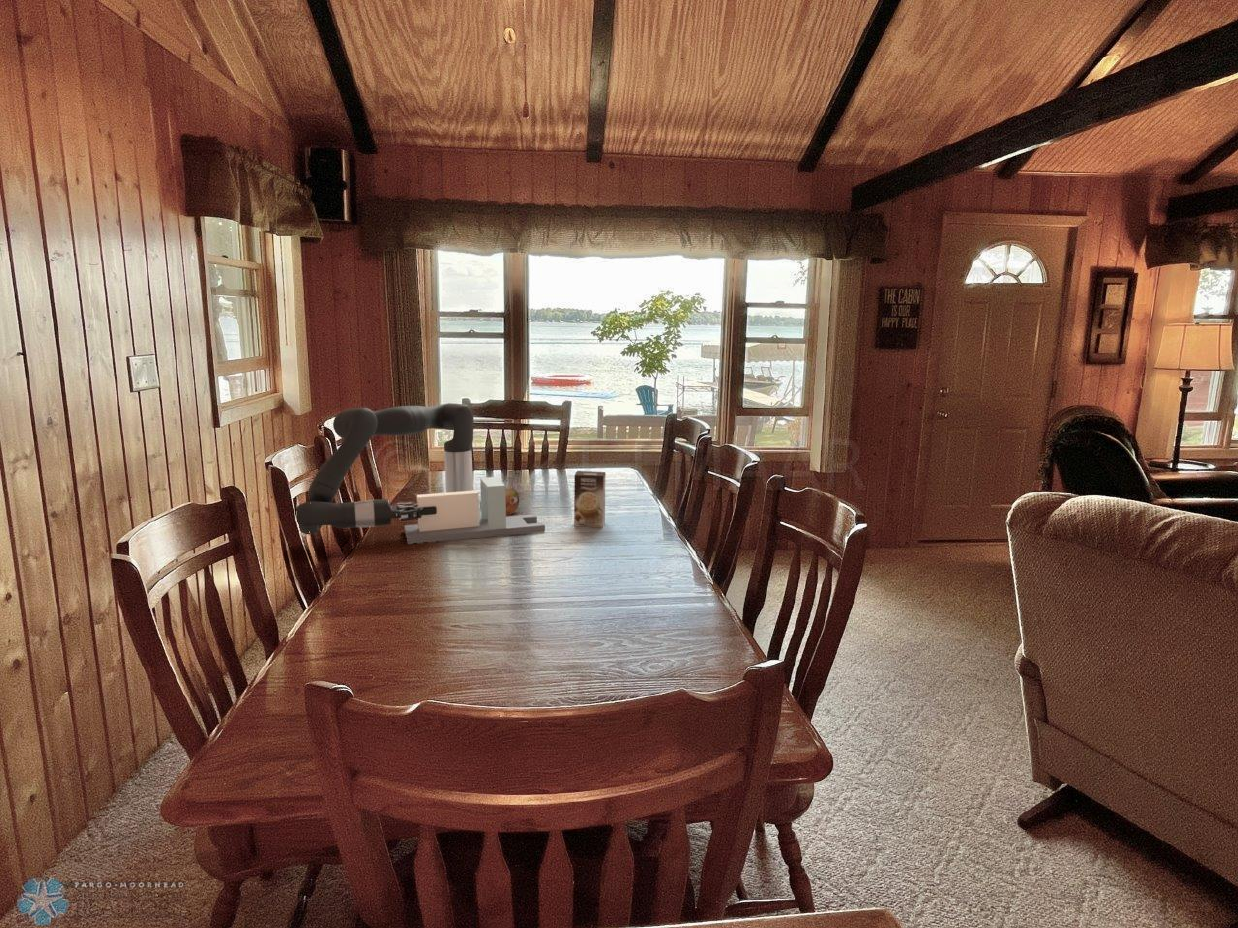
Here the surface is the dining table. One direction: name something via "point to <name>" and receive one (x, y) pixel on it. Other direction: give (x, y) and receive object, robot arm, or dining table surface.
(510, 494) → the tin
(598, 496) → the coffee box
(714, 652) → the dining table surface
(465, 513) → the block
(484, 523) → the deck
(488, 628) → the dining table surface
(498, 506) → the tunnel
